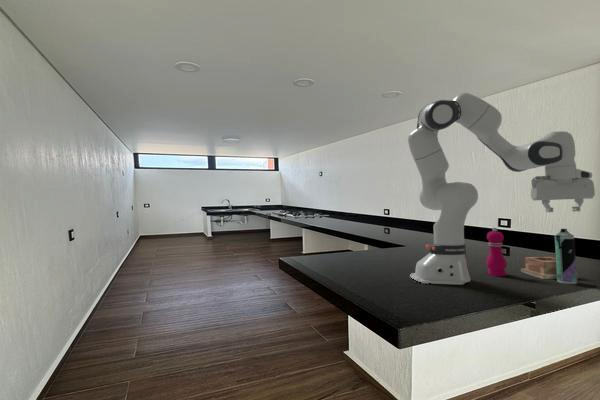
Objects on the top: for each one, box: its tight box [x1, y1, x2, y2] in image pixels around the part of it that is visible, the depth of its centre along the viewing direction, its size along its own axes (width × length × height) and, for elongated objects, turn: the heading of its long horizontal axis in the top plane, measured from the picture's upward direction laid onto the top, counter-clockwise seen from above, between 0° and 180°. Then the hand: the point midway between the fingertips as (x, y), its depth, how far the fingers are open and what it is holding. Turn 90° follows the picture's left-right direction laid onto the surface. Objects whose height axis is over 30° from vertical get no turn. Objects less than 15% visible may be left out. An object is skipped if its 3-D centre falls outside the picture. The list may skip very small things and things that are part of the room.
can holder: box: [520, 256, 580, 280], centre depth 121 cm, size 13×13×6 cm
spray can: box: [554, 228, 578, 285], centre depth 110 cm, size 6×6×20 cm
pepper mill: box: [486, 226, 508, 277], centre depth 125 cm, size 7×7×20 cm
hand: (563, 211), depth 110 cm, fingers open, 8 cm apart
